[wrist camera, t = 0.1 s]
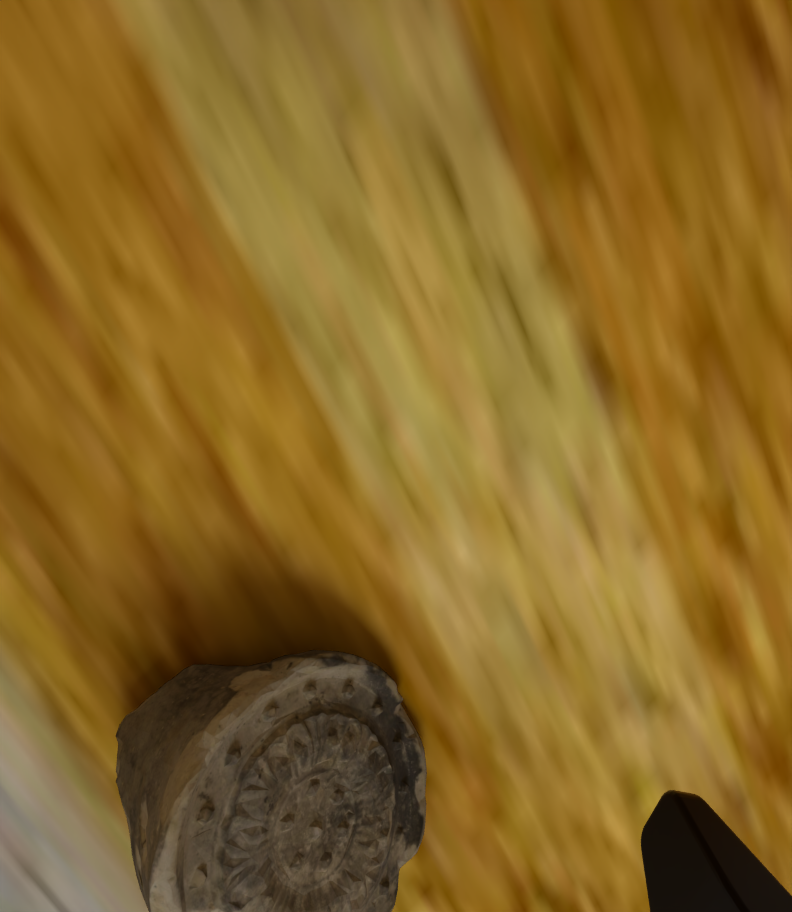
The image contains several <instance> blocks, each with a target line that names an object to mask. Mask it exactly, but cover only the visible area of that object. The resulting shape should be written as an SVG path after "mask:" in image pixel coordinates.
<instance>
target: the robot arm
mask: <svg viewBox="0 0 792 912" xmlns="http://www.w3.org/2000/svg"><path fill="white" fill-rule="evenodd" d="M641 850H642V857H643V864H644V871H645V878H646V884H647V891H648V898H649V905H650V912H792V896H791V895H790V894H789V893H788V891H787V890H786V889H785V888H784V887H783V886H782V885H781V884H780V883H779V882H778V881H777V879H776V878H775V877H774V876H773V875H772V874H771V873H770V872H769V871H768V870H767V868H766V867H765V866H764V865H763V864H762V863H761V862H760V861H759V860H758V859H757V858H756V856H755V855H754V854H753V853H752V852H751V851H750V850H749V849H748V848H747V847H746V845H745V844H744V843H743V842H742V841H741V840H740V839H739V838H738V837H737V836H736V835H735V833H734V832H733V831H732V830H731V829H730V828H729V827H728V826H727V825H726V824H725V822H724V821H723V820H722V819H721V818H720V817H719V816H718V815H717V814H716V813H715V812H714V810H713V809H712V808H711V807H710V806H709V805H708V804H707V803H706V802H705V801H704V800H703V799H702V798H701V797H699V796H697V795H695V794H691V793H686V792H680V791H675V790H669V791H667V792H666V793H664V794H663V796H662V797H661V799H660V800H659V802H658V804H657V806H656V807H655V809H654V811H653V812H652V814H651V816H650V817H649V819H648V821H647V822H646V824H645V826H644V828H643V831H642V836H641Z"/></svg>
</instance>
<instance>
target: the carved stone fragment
mask: <svg viewBox="0 0 792 912" xmlns="http://www.w3.org/2000/svg"><path fill="white" fill-rule="evenodd" d="M402 700H403V698H402V697H401V695H400V694H399V693H398V691H397V685H396V683H395V681H394V680H393V679H392V678H391V677H390V676H389V675H388V674H387V673H386V672H384V671H383V670H382V669H381V668H380V667H379V666H377V665H376V664H374V663H372V662H369V661H367V660H365V659H363V658H361V657H358V656H356V655H352V654H347V653H342V652H337V651H323V650H311V651H307V652H303V653H299V654H295V655H285V656H283V657H280V658H277V659H274V660H272V661H270V662H267V663H260V664H256V665H252V666H220V665H195V664H194V665H192V666H190V667H188V668H186V669H184V670H182V671H181V672H180V673H179V674H178V675H177V676H176V677H174V678H173V679H171V680H170V681H168V682H167V683H165V684H164V685H163V686H162V687H161V688H160V689H159V690H158V691H157V692H156V693H155V694H153V695H151V696H150V697H149V698H148V699H147V700H145V701H144V702H143V703H142V704H141V705H140V706H139V707H138V708H137V709H136V710H134V711H133V712H131V713H130V714H128V715H127V716H125V718H124V719H123V721H122V722H121V724H120V725H119V728H118V731H117V733H116V738H117V741H118V753H117V767H116V773H117V779H116V783H117V785H118V790H119V794H120V798H121V801H122V805H123V808H124V811H125V814H126V817H127V822H128V827H129V833H130V839H131V848H132V856H133V861H134V866H135V870H136V875H137V879H138V882H139V886H140V889H141V892H142V895H143V897H144V900H145V902H146V905H147V908H148V910H149V912H391V911H392V909H393V907H394V905H395V901H396V895H397V890H398V875H399V870H400V868H401V867H402V866H403V865H404V864H405V863H406V862H407V861H409V860H410V859H411V858H412V857H413V856H414V855H415V854H416V853H417V851H418V848H419V846H420V844H421V841H422V838H423V835H424V829H425V817H426V800H425V787H426V773H427V772H426V761H425V752H424V748H423V745H422V742H421V739H420V737H419V735H418V733H417V731H416V730H415V728H414V726H413V724H412V722H411V720H410V719H409V717H408V715H407V714H406V712H405V710H404V709H403V707H402V705H401V704H400V703H401V702H402Z"/></svg>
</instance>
